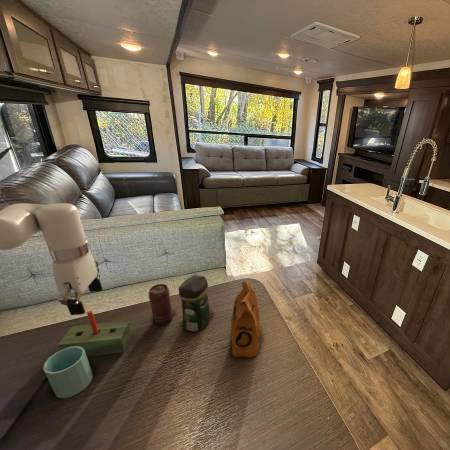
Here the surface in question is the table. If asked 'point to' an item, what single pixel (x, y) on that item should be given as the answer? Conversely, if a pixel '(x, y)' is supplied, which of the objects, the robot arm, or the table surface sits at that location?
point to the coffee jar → (195, 302)
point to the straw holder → (99, 338)
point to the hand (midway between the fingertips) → (87, 301)
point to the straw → (92, 322)
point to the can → (160, 304)
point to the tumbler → (68, 371)
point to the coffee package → (245, 323)
